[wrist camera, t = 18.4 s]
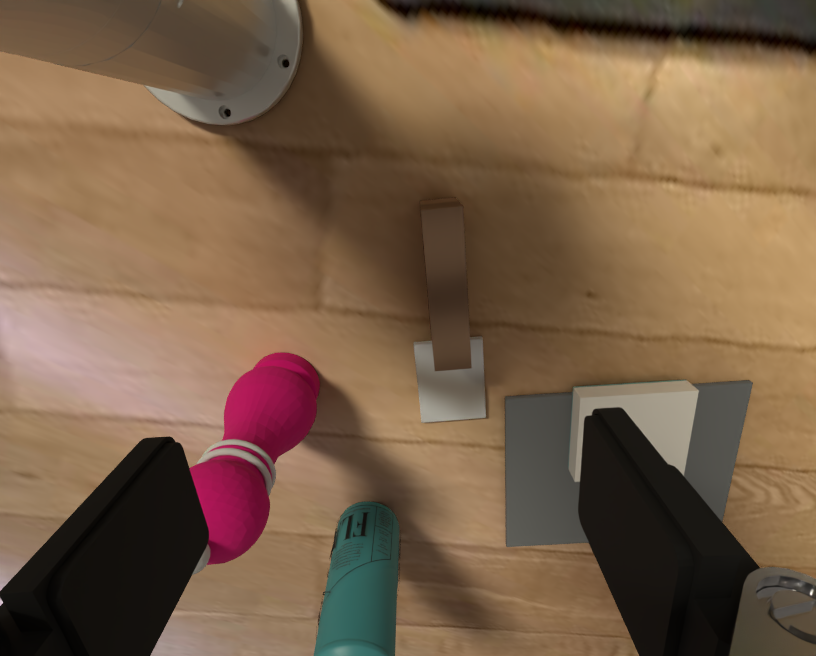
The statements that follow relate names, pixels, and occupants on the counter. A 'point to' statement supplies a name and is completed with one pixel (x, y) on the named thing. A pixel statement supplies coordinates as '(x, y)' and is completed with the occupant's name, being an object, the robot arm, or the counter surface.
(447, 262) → the wooden handled spatula
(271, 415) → the pepper mill
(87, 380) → the counter surface
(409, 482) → the counter surface
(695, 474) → the tile mat
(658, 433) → the tile
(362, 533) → the beverage bottle
